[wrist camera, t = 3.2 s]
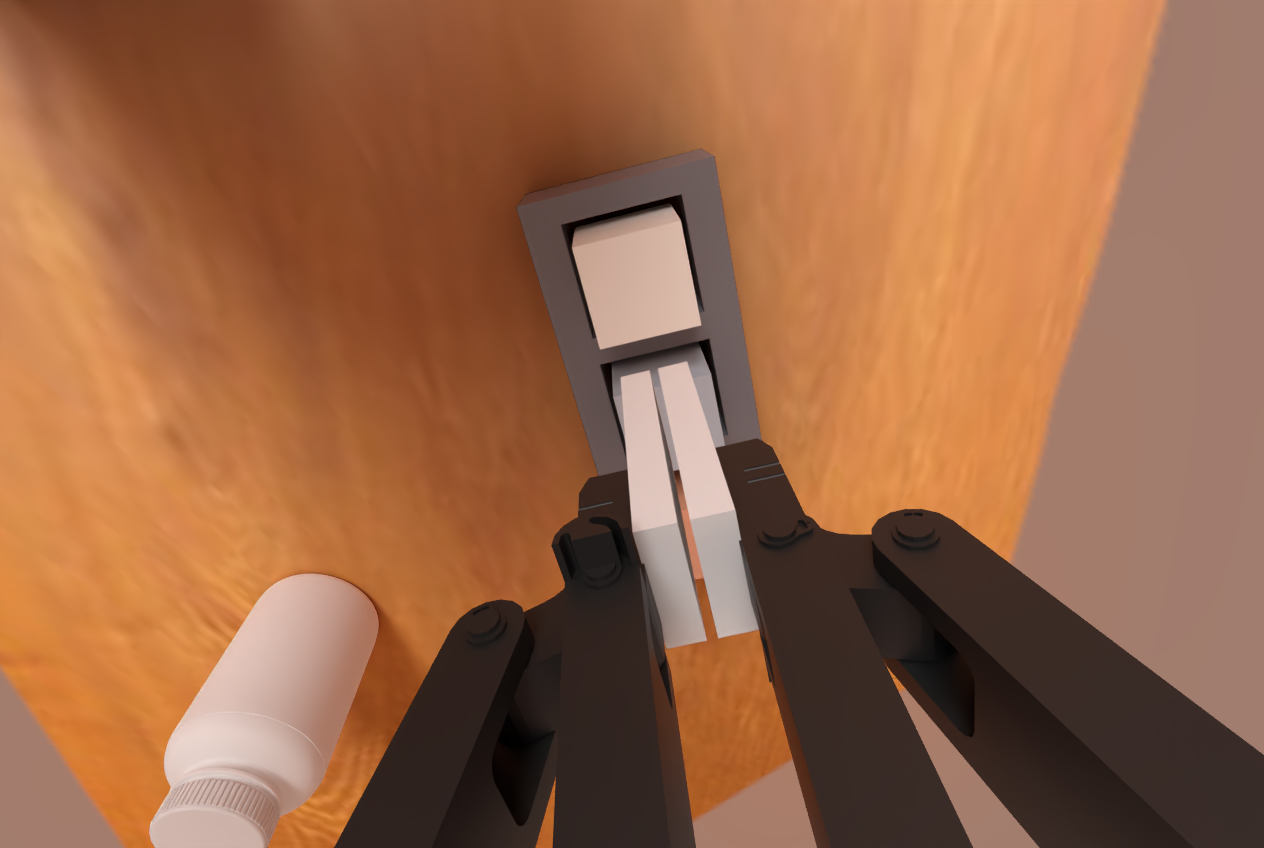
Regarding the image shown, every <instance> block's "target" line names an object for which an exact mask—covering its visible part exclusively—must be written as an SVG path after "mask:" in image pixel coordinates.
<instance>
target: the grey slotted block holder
mask: <svg viewBox="0 0 1264 848" xmlns="http://www.w3.org/2000/svg"><path fill="white" fill-rule="evenodd" d="M672 196H675V197H676V202H677V207H678V212H679V217H680V220H681V224H682V229H683V234H684V239H685V244H686V249H687V254H688V260H689V265H690V270H691V275H692V280H693V285H694V290H695V295H696V300H697V305H698V310H699V316H700V321H701V326H696V327H692V328H688V329H684V330H680V331H676V332H671V333H667V334H663V335H659V336H655V337H651V338H646V339H642V340H638V341H634V342H630V343H626V344H622V345H617V346H613V347H609V348H605V349H601V350H600V348H599V344H598V341H597V337H596V333H595V330H594V326H593V322H592V319H591V315H590V312H589V308H588V304H587V301H586V297H585V294H584V290H583V286H582V283H581V279H580V275H579V272H578V268H577V265H576V261H575V257H574V254H573V250H572V244H573V239H572V235H571V232H570V228H569V224H568V223H570V222H574V221H578V220H582V219H585V218H589V217H593V216H597V215H601V214H605V213H609V212H613V211H617V210H621V209H625V208H629V207H633V206H637V205H640V204H644V203H648V202H652V201H656V200H660V199H664V198H668V197H672ZM516 208H517V211H518V215H519V218H520V221H521V225H522V228H523V231H524V234H525V238H526V241H527V244H528V247H529V251H530V254H531V257H532V260H533V264H534V267H535V270H536V273H537V277H538V280H539V283H540V286H541V290H542V293H543V296H544V299H545V303H546V306H547V309H548V313H549V316H550V319H551V322H552V326H553V329H554V332H555V335H556V339H557V342H558V345H559V348H560V352H561V355H562V358H563V361H564V365H565V368H566V371H567V374H568V378H569V381H570V384H571V387H572V391H573V394H574V397H575V401H576V404H577V407H578V410H579V414H580V417H581V420H582V423H583V427H584V430H585V433H586V436H587V440H588V443H589V446H590V449H591V453H592V456H593V459H594V462H595V466H596V469H597V472H598V476H601V475H605V474H610V473H614V472H619V471H623V470H627V469H628V468H627V455H626V442H625V438H624V435H623V431H622V427H621V424H620V420H619V416H618V413H617V409H616V406H615V402H614V398H613V385H612V381H611V377H610V374H609V370H608V366H607V363H609V362H613V361H617V360H622V359H626V358H630V357H634V356H638V355H642V354H647V353H651V352H655V351H659V350H663V349H668V348H672V347H676V346H680V345H684V344H689V343H693V342H697V341H701V340H704V344H705V349H706V354H707V359H708V364H709V369H710V373H711V377H712V382H713V387H714V392H715V397H716V402H717V407H718V412H719V417H720V422H721V428H722V433H723V438H724V443H725V445H730V444H734V443H739V442H743V441H747V440H752V439H756V438H758V439H759V440H761V433H760V427H759V421H758V415H757V409H756V403H755V397H754V391H753V385H752V379H751V373H750V367H749V361H748V355H747V349H746V343H745V337H744V331H743V325H742V319H741V313H740V307H739V301H738V295H737V289H736V283H735V277H734V271H733V265H732V259H731V253H730V247H729V241H728V235H727V229H726V223H725V217H724V211H723V204H722V198H721V192H720V186H719V180H718V174H717V168H716V162H715V156H713V155H712V154H710V153H708V152H706V151H705V150H703V149H698V150H695V151H691V152H687V153H683V154H679V155H675V156H671V157H667V158H664V159H660V160H656V161H652V162H648V163H644V164H640V165H636V166H633V167H629V168H625V169H621V170H617V171H613V172H609V173H606V174H602V175H598V176H594V177H590V178H586V179H582V180H578V181H575V182H571V183H567V184H563V185H559V186H555V187H551V188H547V189H544V190H540V191H536V192H532V193H528V194H525V195H524V197H523V198H522V200H521V201H520V202H519V204H518V205H517V207H516ZM761 441H762V440H761Z"/></svg>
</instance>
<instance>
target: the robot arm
mask: <svg viewBox="0 0 1264 848" xmlns="http://www.w3.org/2000/svg"><path fill="white" fill-rule="evenodd" d="M658 372H659V376H660V381H661V386H662V391H663V395H664V400H665V405H666V409H667V414H668V419H669V424H670V428H671V433H672V438H673V442H674V447H675V452H676V456H677V461H678V466H679V471H680V475H681V480H682V485H683V489H684V494H685V499H686V504H687V508H688V513H689V518H690V522H691V526H692V530H693V535H694V539H695V543H696V547H697V551H698V556H699V560H700V564H701V568H702V572H703V576H704V581H705V585H706V589H707V593H708V597H709V601H710V606H711V610H712V614H713V618H714V622H715V627H716V631H717V635H718V638H722V637H727V636H731V635H736V634H741V633H746V632H751V631H755V630H759V631H760V636H761V641H762V646H763V651H764V656H765V661H766V666H767V671H768V676H769V681H770V682H772V684H773V688H774V692H775V695H776V699H777V703H778V706H779V710H780V714H781V717H782V721H783V725H784V728H785V732H786V735H787V739H788V743H789V746H790V750H791V754H792V757H793V761H794V765H795V768H796V772H797V775H798V779H799V783H800V787H801V790H802V794H803V797H804V801H805V805H806V808H807V812H808V816H809V819H810V823H811V827H812V830H813V834H814V838H815V841H816V845H817V848H973V846H972V845H971V843H970V840H969V838H968V836H967V834H966V832H965V830H964V828H963V826H962V824H961V822H960V819H959V817H958V815H957V813H956V811H955V809H954V807H953V805H952V803H951V800H950V799H949V796H948V794H947V792H946V790H945V788H944V786H943V784H942V782H941V780H940V777H939V775H938V773H937V771H936V769H935V767H934V765H933V763H932V761H931V759H930V757H929V755H928V752H927V750H926V748H925V746H924V744H923V742H922V740H921V738H920V736H919V734H918V731H917V730H916V727H915V725H914V723H913V721H912V719H911V717H910V715H909V713H908V711H907V708H906V706H905V705H904V702H903V700H902V698H901V696H900V694H899V692H898V690H897V688H896V685H895V683H894V681H893V679H892V677H891V675H890V673H889V671H888V669H887V667H888V668H889V669H890V670H891V672H892V673H893V674H894V675H895V676H896V678H897V679H898V680H899V681H900V682H901V684H902V685H903V686H904V687H905V688H906V689H907V691H908V692H909V693H910V694H911V695H912V697H913V698H914V699H915V700H916V701H917V703H918V704H919V705H920V706H921V707H922V708H923V710H924V711H925V712H926V713H927V714H928V716H929V717H930V718H931V719H932V720H933V722H934V723H935V724H936V725H937V726H938V727H939V729H940V730H941V731H942V732H943V733H944V735H945V736H946V737H947V738H948V739H949V740H950V742H951V743H952V744H953V745H954V747H956V749H957V750H958V751H959V752H960V754H961V755H962V756H963V757H964V758H965V760H966V761H967V762H968V763H969V764H970V765H971V767H972V768H973V769H974V770H975V771H976V773H977V774H978V775H979V776H980V777H981V779H982V780H983V781H984V782H985V783H986V785H987V786H988V787H989V788H990V789H991V790H992V792H993V793H994V794H995V795H996V796H997V798H998V799H999V800H1000V801H1001V802H1002V804H1003V805H1004V806H1005V807H1006V808H1007V809H1008V811H1009V812H1010V813H1011V814H1012V815H1013V817H1014V818H1015V819H1016V820H1017V821H1018V822H1019V823H1020V825H1021V826H1022V827H1023V828H1024V830H1025V831H1026V832H1027V833H1028V834H1029V836H1030V837H1031V838H1032V839H1033V840H1034V842H1035V843H1036V844H1037V845H1038V846H1039V847H1040V848H1264V755H1263V754H1262V753H1260V752H1259V751H1258V750H1256V749H1255V748H1254V747H1252V746H1251V745H1250V744H1248V743H1247V742H1246V741H1244V740H1243V739H1242V738H1240V737H1239V736H1238V735H1236V734H1235V733H1234V732H1232V731H1231V730H1230V729H1229V728H1227V727H1226V726H1225V725H1223V724H1222V723H1220V722H1219V721H1218V720H1217V719H1215V718H1214V717H1213V716H1211V715H1210V714H1208V713H1207V712H1206V711H1205V710H1203V709H1202V708H1201V707H1199V706H1198V705H1197V704H1195V703H1194V702H1193V701H1191V700H1190V699H1189V698H1187V697H1186V696H1185V695H1183V694H1182V693H1181V692H1179V691H1178V690H1177V689H1175V688H1174V687H1173V686H1171V685H1170V684H1169V683H1167V682H1166V681H1165V680H1163V679H1162V678H1161V677H1160V676H1158V675H1157V674H1156V673H1154V672H1153V671H1152V670H1150V669H1149V668H1148V667H1146V666H1145V665H1144V664H1142V663H1141V662H1140V661H1138V660H1137V659H1136V658H1134V657H1133V656H1132V655H1130V654H1129V653H1128V652H1126V651H1125V650H1124V649H1122V648H1121V647H1120V646H1118V645H1117V644H1116V643H1114V642H1113V641H1112V640H1110V639H1109V638H1108V637H1106V636H1105V635H1104V634H1102V633H1101V632H1100V631H1098V630H1097V629H1096V628H1095V627H1093V626H1092V625H1091V624H1089V623H1088V622H1087V621H1085V620H1084V619H1082V618H1081V617H1080V616H1079V615H1077V614H1076V613H1075V612H1073V611H1072V610H1071V609H1069V608H1068V607H1067V606H1065V605H1064V604H1063V603H1061V602H1060V601H1059V600H1057V599H1056V598H1055V597H1053V596H1052V595H1051V594H1049V593H1048V592H1047V591H1046V590H1044V589H1043V588H1041V587H1040V586H1039V585H1038V584H1036V583H1035V582H1034V581H1032V580H1031V579H1030V578H1028V577H1027V576H1025V575H1024V574H1023V573H1022V572H1020V571H1019V570H1018V569H1016V568H1015V567H1014V566H1012V565H1011V564H1010V563H1008V562H1007V561H1006V560H1004V559H1003V558H1002V557H1000V556H999V555H998V554H996V553H995V552H994V551H993V550H991V549H990V548H989V547H987V546H986V545H985V544H983V543H982V542H981V541H979V540H978V539H977V538H975V537H974V536H973V535H971V534H970V533H969V532H967V531H966V530H965V529H963V528H962V527H961V526H959V525H958V524H957V523H955V522H954V521H953V520H951V519H949V518H947V517H945V516H943V515H942V514H940V513H937V512H932V511H928V510H923V509H904V510H900V511H896V512H891V513H889V514H887V515H885V516H884V517H882V518H880V519H878V521H877V522H876V523H875V525H874V526H873V528H872V535H849V534H838V533H834V532H830V531H826V530H824V529H822V528H820V527H819V525H818V524H817V523H816V522H815V521H814V520H813V518H811V517H809V516H806V515H805V514H804V512H803V510H802V507H801V505H800V503H799V501H798V499H797V497H796V495H795V493H794V491H793V489H792V487H791V485H790V483H789V481H788V479H787V477H786V475H785V473H784V470H783V468H782V466H781V464H780V463H779V460H778V458H777V456H776V454H775V452H774V450H773V448H772V447H771V446H769V445H767V444H766V443H764V442H763V441H761V440H759V439H758V438H756V439H752V440H747V441H743V442H739V443H734V444H730V445H725V446H721V447H717V448H715V446H714V443H713V440H712V437H711V434H710V431H709V428H708V424H707V421H706V418H705V415H704V412H703V409H702V406H701V403H700V400H699V397H698V394H697V391H696V388H695V384H694V381H693V378H692V375H691V372H690V369H689V366H688V363H687V361H686V362H682V363H678V364H674V365H670V366H665V367H661V368H658ZM621 390H622V403H623V416H624V429H625V442H626V455H627V468H628V469H627V470H623V471H619V472H614V473H610V474H605V475H601V476H597V477H592V478H589V479H588V481H587V482H586V484H585V485H584V487H583V488H582V490H581V491H580V493H579V511H578V518H575V519H574V520H572V521H571V522H569V523H567V524H566V525H564V526H563V527H562V528H561V529H560V530H559V531H558V532H557V534H556V535H555V537H554V539H553V542H552V548H553V551H554V554H555V556H556V559H557V562H558V564H559V567H560V570H561V573H562V575H563V578H564V581H565V588H564V589H563V590H562V591H561V592H560V593H558V594H557V595H556V596H555V597H553V598H551V599H550V600H548V601H546V602H544V603H542V604H540V605H538V606H536V607H534V608H532V609H529V610H527V611H525V612H523V609H522V607H521V606H520V605H518V604H517V603H515V602H513V601H508V600H496V601H491V602H486V603H484V604H482V605H479V606H477V607H475V608H473V609H471V610H470V611H469V612H467V613H466V614H465V615H464V616H462V617H461V618H460V619H459V620H458V621H457V623H456V624H455V625H454V627H453V628H452V629H451V631H450V633H449V634H448V636H447V638H446V640H445V642H444V644H443V646H442V648H441V649H440V651H439V653H438V655H437V657H436V659H435V661H434V662H433V664H432V666H431V668H430V670H429V672H428V674H427V675H426V677H425V679H424V681H423V683H422V685H421V687H420V689H419V690H418V692H417V694H416V696H415V698H414V700H413V702H412V703H411V705H410V707H409V709H408V711H407V713H406V715H405V717H404V718H403V720H402V722H401V724H400V726H399V728H398V730H397V731H396V733H395V735H394V737H393V739H392V741H391V743H390V745H389V746H388V748H387V750H386V752H385V754H384V756H383V758H382V759H381V761H380V763H379V765H378V767H377V769H376V771H375V772H374V774H373V776H372V778H371V780H370V782H369V784H368V786H367V787H366V789H365V791H364V793H363V795H362V797H361V799H360V800H359V802H358V804H357V806H356V808H355V810H354V812H353V814H352V815H351V817H350V819H349V821H348V823H347V825H346V827H345V828H344V830H343V832H342V834H341V836H340V838H339V840H338V842H337V843H336V845H335V847H334V848H535V847H536V843H537V840H538V836H539V833H540V829H541V826H542V822H543V819H544V815H545V812H546V808H547V805H548V801H549V798H550V794H551V791H552V787H553V784H554V780H555V777H556V787H555V809H554V830H553V848H696V845H695V838H694V831H693V824H692V817H691V810H690V803H689V796H688V789H687V782H686V775H685V768H684V761H683V754H682V747H681V739H680V732H679V725H678V718H677V711H676V704H675V697H674V690H673V683H672V676H671V671H670V667H669V664H668V660H667V657H666V654H665V648H664V642H665V645H666V649H669V648H674V647H679V646H683V645H688V644H693V643H698V642H703V641H707V639H706V634H705V629H704V623H703V618H702V613H701V608H700V603H699V598H698V593H697V588H696V583H695V578H694V573H693V568H692V562H691V557H690V552H689V547H688V542H687V537H686V532H685V527H684V522H683V517H682V512H681V506H680V501H679V496H678V491H677V486H676V481H675V476H674V471H673V466H672V461H671V457H670V452H669V448H668V444H667V440H666V436H665V432H664V428H663V424H662V419H661V415H660V411H659V407H658V403H657V399H656V395H655V391H654V387H653V382H652V378H651V374H650V370H648V371H644V372H640V373H636V374H632V375H627V376H623V377H621ZM663 638H664V639H663ZM884 661H885V662H884ZM885 663H886V665H887V667H886V665H885Z"/></svg>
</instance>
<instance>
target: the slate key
mask: <svg viewBox="0 0 1264 848" xmlns="http://www.w3.org/2000/svg"><path fill="white" fill-rule="evenodd" d="M686 361H687V363H688V366H689V369H690V372H691V375H692V378H693V381H694V384H695V388H696V391H697V394H698V397H699V400H700V403H701V406H702V409H703V412H704V415H705V418H706V421H707V424H708V428H709V431H710V434H711V437H712V440H713V443H714V446H715V448H717V447H721V446H725V443H724V438H723V433H722V428H721V422H720V417H719V412H718V407H717V402H716V397H715V392H714V387H713V382H712V377H711V373H710V370H709V368H708V365H707V363H706V360H705V358H704V355H703V353H702V350H701V348H700V345H699V342H698V341H697V342H693V343H689V344H684V345H680V346H676V347H672V348H668V349H663V350H659V351H655V352H651V353H647V354H642V355H638V356H634V357H630V358H626V359H622V360H617V361H613V362H611V363H612V383H613V398H614V402H615V406H616V409H617V413H618V416H619V420H620V424H621V427H622V431H623V435H624V438H625V429H624V416H623V403H622V390H621V377H623V376H627V375H632V374H636V373H640V372H644V371H648V370H650V374H651V378H652V382H653V387H654V391H655V395H656V399H657V403H658V407H659V411H660V415H661V419H662V424H663V428H664V432H665V436H666V440H667V444H668V448H669V452H670V457H671V461H672V466H673V471H675V470H679V466H678V461H677V456H676V452H675V447H674V442H673V438H672V433H671V428H670V424H669V419H668V414H667V409H666V405H665V400H664V395H663V391H662V386H661V381H660V376H659V372H658V368H661V367H665V366H670V365H674V364H678V363H682V362H686Z"/></svg>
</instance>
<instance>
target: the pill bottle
mask: <svg viewBox="0 0 1264 848" xmlns="http://www.w3.org/2000/svg"><path fill="white" fill-rule="evenodd" d="M378 629H379V621H378V615H377V612H376V610H375V607H374V605H373V604H372V602H371V601H370V599H369V598H368V597H367V596H366V595H365V594H364V593H363V592H362V591H361V590H359V589H358V588H357V587H355V586H353V585H352V584H350V583H348V582H346V581H344V580H342V579H339V578H336V577H333V576H328V575H323V574H299V575H294V576H290V577H287V578H284V579H282V580H280V581H278V582H276V583H275V584H273V585H272V586H271V587H270V588H268V589H267V590H266V591H265V592H264V594H263V595H262V596H261V597H260V598H259V600H258V601H257V602H256V604H255V606H254V607H253V609H252V610H251V612H250V613H249V615H248V616H247V618H246V620H245V621H244V623H243V624H242V626H241V627H240V629H239V630H238V632H237V634H236V635H235V637H234V638H233V640H232V641H231V643H230V644H229V646H228V648H227V649H226V651H225V652H224V654H223V655H222V657H221V658H220V660H219V662H218V663H217V665H216V666H215V668H214V669H213V671H212V672H211V674H210V676H209V677H208V679H207V680H206V682H205V683H204V685H203V686H202V688H201V690H200V691H199V693H198V694H197V696H196V697H195V699H194V700H193V702H192V704H191V705H190V707H189V708H188V710H187V711H186V713H185V714H184V716H183V718H182V719H181V721H180V722H179V724H178V725H177V727H176V729H175V730H174V732H173V734H172V735H171V737H170V739H169V741H168V744H167V748H166V752H165V757H164V770H165V774H166V778H167V780H168V782H169V784H170V786H171V789H170V792H169V794H168V795H167V796H166V798H165V799H164V801H163V803H162V804H161V806H160V808H159V810H158V811H157V813H156V815H155V816H154V818H153V820H152V822H151V824H150V829H149V830H150V839H151V841H152V843H153V845H154V847H155V848H267V847H268V845H269V843H270V840H271V838H272V835H273V833H274V831H275V828H276V826H277V823H278V820H279V818H280V816H282V815H285V814H287V813H289V812H291V811H293V810H295V809H297V808H298V807H299V806H301V805H302V804H303V803H305V802H306V801H307V800H308V799H309V798H310V797H311V796H312V794H313V793H314V792H315V790H316V789H317V788H318V787H319V785H320V783H321V782H322V780H323V777H324V775H325V773H326V770H327V768H328V765H329V762H330V760H331V757H332V755H333V752H334V749H335V747H336V744H337V742H338V739H339V736H340V734H341V731H342V728H343V726H344V723H345V721H346V718H347V715H348V713H349V710H350V708H351V705H352V702H353V700H354V697H355V695H356V692H357V689H358V687H359V684H360V682H361V679H362V676H363V674H364V671H365V668H366V666H367V663H368V661H369V658H370V655H371V653H372V650H373V648H374V645H375V642H376V639H377V634H378Z"/></svg>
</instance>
